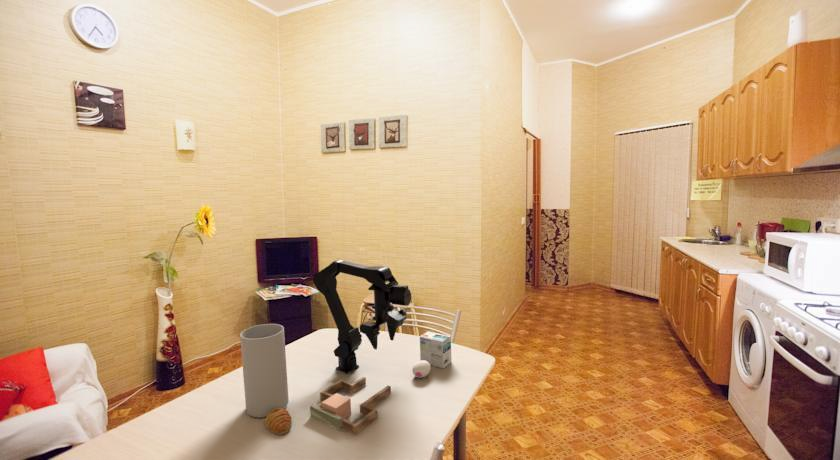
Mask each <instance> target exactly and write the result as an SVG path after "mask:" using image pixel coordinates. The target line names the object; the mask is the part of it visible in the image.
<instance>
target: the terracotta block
mask: <svg viewBox="0 0 840 460" xmlns="http://www.w3.org/2000/svg"><path fill="white" fill-rule="evenodd" d="M321 402H322V408H323V409H325V410H327V411H329V412H331V413H334V414H336V415H338V416H340V417H342V418H344V419H346V418H347V417H348V416H350V415H351V414H352V404H351V402H352V401H351V398H350V397H348V396H346V395H344V396H343V395H340V394H338V393H336V394H334V395H332V396H331V397H329V398H328V399H326V400H325V401H323V400H322V401H321Z"/></svg>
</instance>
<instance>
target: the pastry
mask: <svg viewBox="0 0 840 460" xmlns="http://www.w3.org/2000/svg"><path fill="white" fill-rule="evenodd" d="M292 422H293V421H292V416H291V415H290V412H289V411H288V410H287V409H285V408H284V409H283V408H276V409H274V410H272V411H271V412H270V413H269V414H268V415H267V417H265V425H266V426H265V427H267V429H268V430H269V431H271V432H272V433H273V434H275V435H278V436H280V435H283V434H286V433H288V432H290V430H291V429H292Z"/></svg>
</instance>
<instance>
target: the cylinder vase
mask: <svg viewBox="0 0 840 460" xmlns="http://www.w3.org/2000/svg"><path fill="white" fill-rule="evenodd" d="M239 338H240V350H241V352H240V353H241V360H242V361H241V363H242V364H241V365H242V373H243V374H242V376H243V385H244V387H243V388H244V398H245V402H244V403H245V411H246V414H247V415H248V416H250V417H253V418H258V419H259V418H260V419H261V418H262V419H263V418H266V417H267V415H268V414H269V413H270V412H271V411H272V410H274V409H276V408H283V409H284V410H285V409H286V407H287V406H288V404H289V399H290V397H289V387H288V386H289V384H288V372H287V371H288V369H287V358H286V357H287V355H286V343H285V342H286V340H285V339H286V337H285V327H284V326H283V325H281V324H279V323H264V324H258V325H257V324H256V325H253V326H250V327H248V328H246V329H243V330H242V331H241V332H240V334H239Z"/></svg>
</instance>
